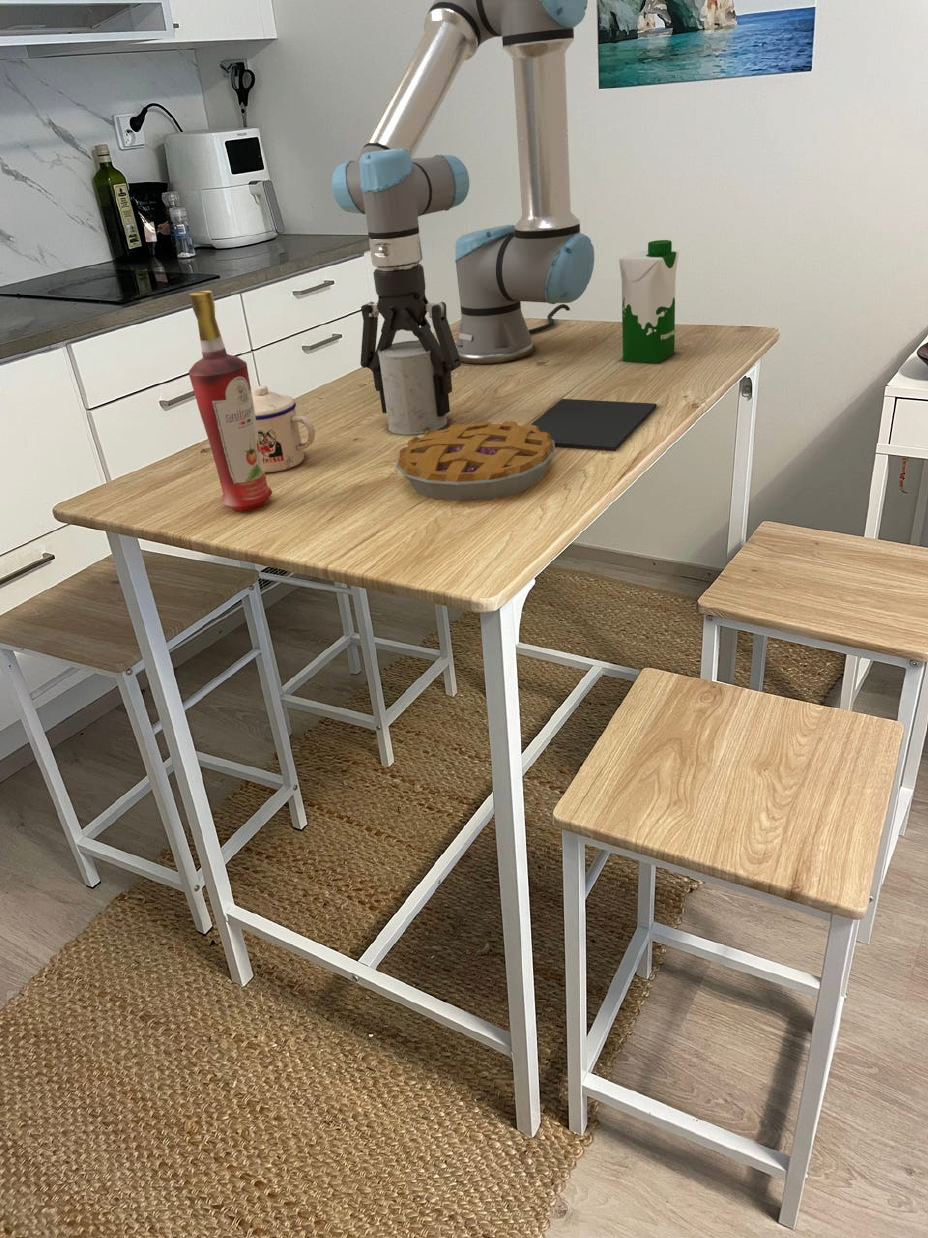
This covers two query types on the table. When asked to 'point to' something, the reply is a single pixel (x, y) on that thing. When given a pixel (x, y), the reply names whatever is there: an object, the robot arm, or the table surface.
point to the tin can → (409, 389)
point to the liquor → (227, 413)
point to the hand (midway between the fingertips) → (416, 412)
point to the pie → (476, 460)
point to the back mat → (592, 422)
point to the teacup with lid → (279, 430)
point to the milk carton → (649, 303)
